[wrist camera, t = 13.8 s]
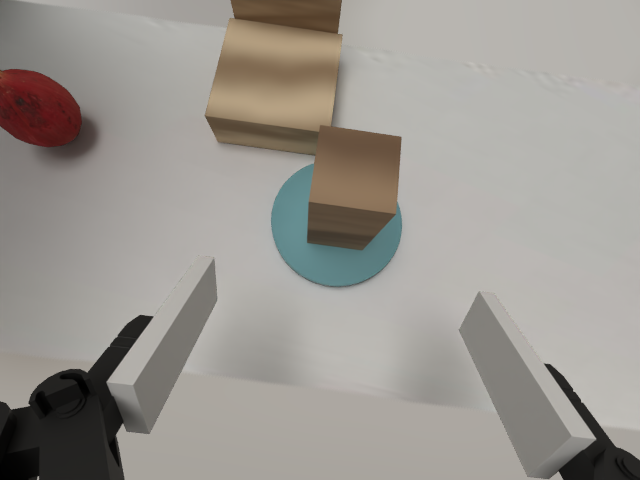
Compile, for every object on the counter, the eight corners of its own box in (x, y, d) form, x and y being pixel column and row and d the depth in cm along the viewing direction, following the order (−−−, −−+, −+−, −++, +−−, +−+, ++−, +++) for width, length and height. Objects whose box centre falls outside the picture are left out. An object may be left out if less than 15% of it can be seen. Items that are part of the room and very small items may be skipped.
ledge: (326, 156, 30) (337, 80, 20) (217, 141, 29) (175, 57, 20) (339, 59, 33) (354, -48, 23) (240, 44, 32) (213, -70, 23)
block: (362, 250, 26) (396, 214, 17) (306, 242, 26) (308, 201, 17) (367, 198, 28) (401, 136, 18) (314, 191, 27) (320, 124, 18)
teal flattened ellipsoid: (245, 226, 28) (243, 222, 26) (330, 144, 30) (331, 137, 29) (342, 314, 26) (343, 314, 25) (422, 220, 29) (427, 216, 27)
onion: (112, 142, 29) (42, 79, 21) (55, 173, 28) (-40, 119, 20) (85, 100, 30) (8, 25, 22) (29, 128, 29) (-73, 60, 21)
